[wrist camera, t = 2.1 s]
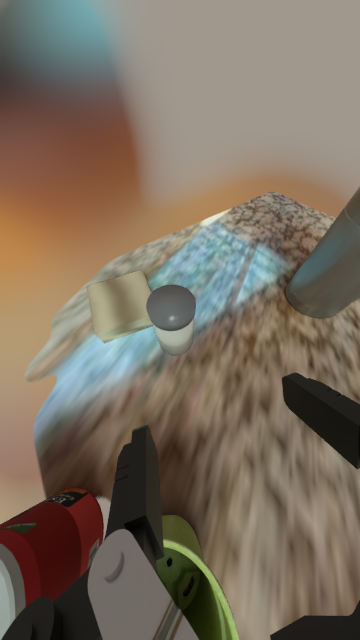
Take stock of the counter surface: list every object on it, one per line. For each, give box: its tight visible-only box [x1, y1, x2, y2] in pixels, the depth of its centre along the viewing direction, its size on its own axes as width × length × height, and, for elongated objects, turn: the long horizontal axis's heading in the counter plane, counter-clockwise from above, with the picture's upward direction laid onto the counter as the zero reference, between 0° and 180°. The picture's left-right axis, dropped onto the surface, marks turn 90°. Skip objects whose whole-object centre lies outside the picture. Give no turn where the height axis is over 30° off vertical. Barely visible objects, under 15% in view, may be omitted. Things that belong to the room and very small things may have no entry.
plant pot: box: [156, 515, 239, 640], centre depth 13 cm, size 9×9×9 cm
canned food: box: [0, 488, 104, 640], centre depth 12 cm, size 8×8×11 cm
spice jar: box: [146, 285, 196, 356], centre depth 24 cm, size 6×6×10 cm
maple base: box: [87, 270, 153, 343], centre depth 30 cm, size 10×10×4 cm
